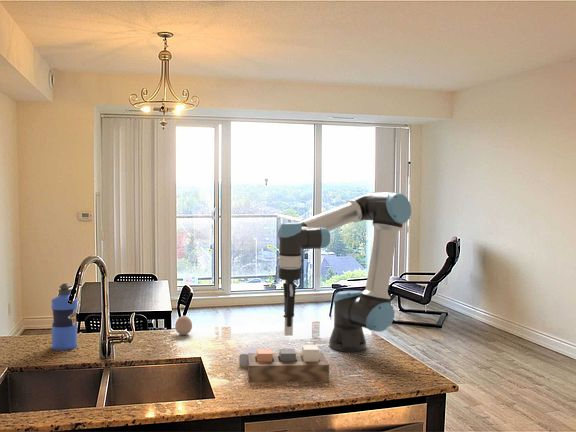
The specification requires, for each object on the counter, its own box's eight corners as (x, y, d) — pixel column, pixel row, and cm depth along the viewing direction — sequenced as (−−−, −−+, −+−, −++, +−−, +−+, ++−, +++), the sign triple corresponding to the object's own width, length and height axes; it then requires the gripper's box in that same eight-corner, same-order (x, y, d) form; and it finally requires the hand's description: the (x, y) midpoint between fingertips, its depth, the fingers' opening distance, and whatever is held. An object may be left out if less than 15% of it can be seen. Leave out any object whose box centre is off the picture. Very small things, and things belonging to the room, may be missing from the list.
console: (322, 367, 188) (322, 352, 187) (328, 380, 175) (329, 364, 175) (247, 368, 185) (247, 353, 184) (248, 381, 172) (249, 365, 172)
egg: (184, 338, 219) (184, 318, 219) (171, 335, 223) (171, 316, 222) (195, 334, 225) (195, 315, 225) (182, 331, 229) (183, 312, 229)
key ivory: (316, 361, 183) (316, 345, 183) (318, 366, 178) (319, 349, 178) (301, 361, 183) (302, 345, 182) (303, 366, 178) (304, 349, 177)
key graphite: (293, 365, 183) (294, 348, 182) (295, 370, 177) (296, 353, 177) (279, 365, 182) (279, 348, 182) (280, 370, 177) (280, 353, 177)
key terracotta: (271, 365, 182) (271, 348, 181) (272, 370, 177) (272, 353, 176) (256, 365, 181) (256, 348, 181) (257, 371, 176) (257, 353, 176)
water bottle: (80, 343, 208) (81, 282, 207) (71, 350, 199) (72, 286, 197) (57, 343, 208) (57, 281, 206) (47, 350, 198) (47, 285, 197)
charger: (273, 356, 200) (263, 369, 185) (251, 353, 202) (239, 366, 187) (274, 343, 200) (264, 356, 185) (251, 341, 202) (239, 353, 187)
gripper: (277, 264, 184) (276, 329, 185) (280, 270, 171) (279, 340, 172) (298, 264, 185) (296, 329, 186) (303, 270, 172) (301, 340, 173)
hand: (288, 334), depth 179 cm, fingers closed
